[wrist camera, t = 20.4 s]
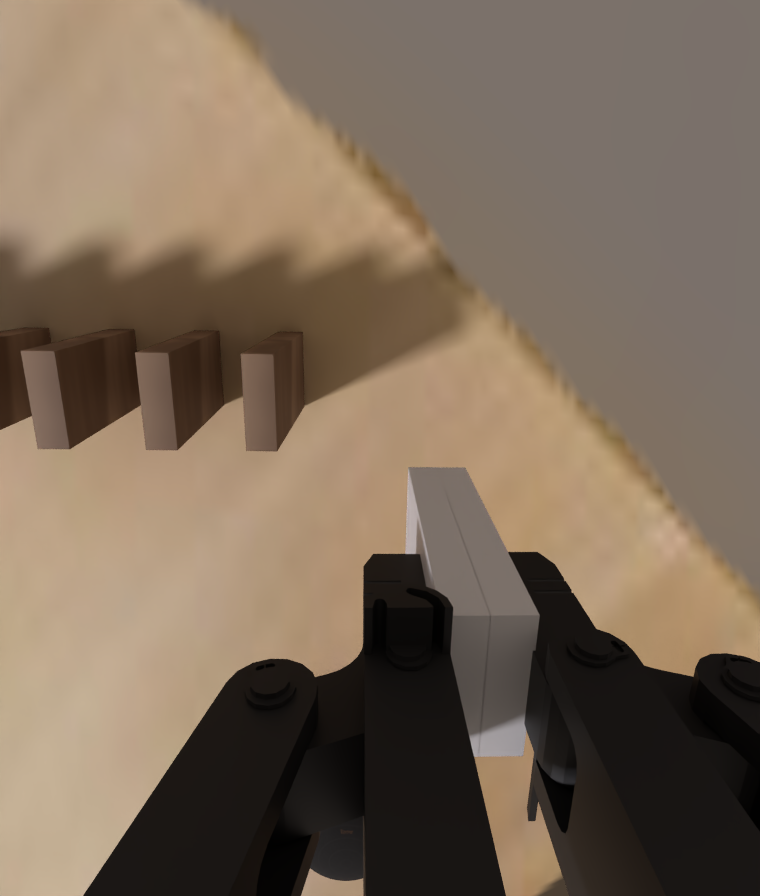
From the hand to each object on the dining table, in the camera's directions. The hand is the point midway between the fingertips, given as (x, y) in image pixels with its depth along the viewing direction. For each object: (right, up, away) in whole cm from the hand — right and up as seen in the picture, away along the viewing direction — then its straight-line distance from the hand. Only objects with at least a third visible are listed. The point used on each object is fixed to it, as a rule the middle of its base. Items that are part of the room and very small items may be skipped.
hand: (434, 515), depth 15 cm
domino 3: (-18, +7, +23) cm, 30 cm away
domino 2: (-13, +7, +23) cm, 27 cm away
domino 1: (-7, +7, +23) cm, 25 cm away
